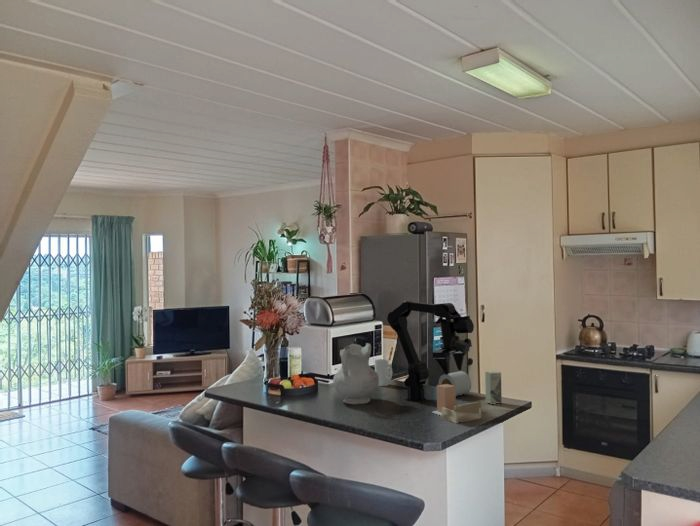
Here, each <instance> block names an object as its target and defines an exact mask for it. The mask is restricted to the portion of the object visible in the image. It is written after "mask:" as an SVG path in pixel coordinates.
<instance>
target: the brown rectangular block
mask: <svg viewBox="0 0 700 526" xmlns="http://www.w3.org/2000/svg"><path fill="white" fill-rule="evenodd" d="M456 397H457V396H455V386H453V385H449V384H443V385H438V384H437V385H436V411H437V412H440V413H442V408H443V407H444V408H447V409H450V410H454V406H457V405H456V404H457V403H456V402H457V398H456Z"/></svg>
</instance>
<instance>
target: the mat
mask: <svg viewBox="0 0 700 526" xmlns="http://www.w3.org/2000/svg"><path fill="white" fill-rule="evenodd" d="M431 413H432V414H433V413H434V415H436V414H437V415H436V416H439V415H440V416H439V417H442V413H440V412H437V410H434V411H432V412H431Z"/></svg>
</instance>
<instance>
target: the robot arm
mask: <svg viewBox="0 0 700 526" xmlns="http://www.w3.org/2000/svg"><path fill="white" fill-rule="evenodd" d="M412 312H421V313H427V314H428V313H429V314H432V315H434V316H435V317H438V318H437V320H436V321H435V324H436V325H437V324H440V331H441V337H439V340H440V341H442V347H441V348H440V349H435V350H433V351H432V353H431V357H432V359H434V360H435V361H436V362H437V363H438V364H439V366H440V367H441V369H442V371H443V374H446V375H448V374H449V360H450V359H451V357H450V355H451V354H452V356H453V358H454V361H455V362H454V363H455V365H456V368H457V370H458V371H462V367H463V362H464V358H465V356H466V355H468V353H469V352H470V349H471V348H472V347H473V345H472V341H471V338H465V339H464V340H463V339H460V336H459V334H472V333H473V332H474V328H475V324H474V322H473V320H472V319H471V316H470V315H465V316H462V315H461V314H460V313H459V312H458V311H457V309H456V307H455V304H453V303H451V302H445V303H428V302H422V301H421V302H419V301H414V300H405V301H403V302H402V303H401V304H400V305H399V306H397V307H396V308H395V309H393V310H392V311H390V312H389V313H388V314H387V317H386V320H387V323H388V325H389V327H390V328H391V329H392V330H393V331H394V332H395V333H396V336H397V338H398V340H399V342H400V345H401V349H402V351H403V353H404V357H405V359H406V361H407V363H408V365H407V372H408V376H407V378H405V379H404V381H403V383H404V386H405V387H406V388H407V392H406V393H407V397H406V398H405V400H406V401H410V400H412V402H417V401H419V402H421V401H424V400H426V399H427V397H426V396H425V394H426V393H425V389H424V388H425V387H424V385H426V382H427V380H428V379H429V376H430V375H429V374H430V373H429V372H430V370H429V369H428V366H427V363H426V362H425V361H424V362H422V361H421V360H420V358H419V357H418V354H417V351H416V348H415V346H414V344H413V341H412V337H411V335H410V333H409V330H408V319H407V318H408V317H409V316H410V315H411V313H412ZM457 334H458V335H457ZM423 399H424V400H423ZM420 400H421V401H420Z"/></svg>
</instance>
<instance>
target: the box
mask: <svg viewBox="0 0 700 526" xmlns="http://www.w3.org/2000/svg"><path fill="white" fill-rule="evenodd" d="M484 375H485V379H484V380H485V382H484V383H485V385H484V386H485V403H486V402H488V403H491V404H494V403H502V402H503V400H502V399H503V398H502V372H501V371H497V370H488V371H485V372H484ZM488 403H487V404H488ZM494 405H495V404H494Z"/></svg>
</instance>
